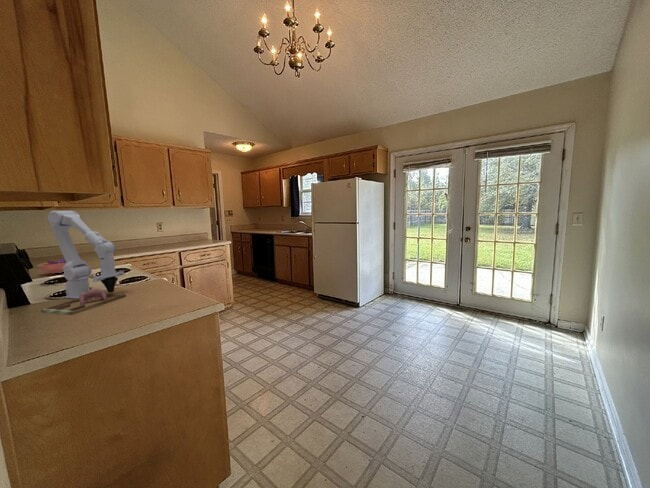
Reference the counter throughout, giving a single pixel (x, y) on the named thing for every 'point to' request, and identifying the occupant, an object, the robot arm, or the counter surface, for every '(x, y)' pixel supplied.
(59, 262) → the cell model
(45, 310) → the shallow wooden tray
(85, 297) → the video game controller
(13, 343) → the counter surface
